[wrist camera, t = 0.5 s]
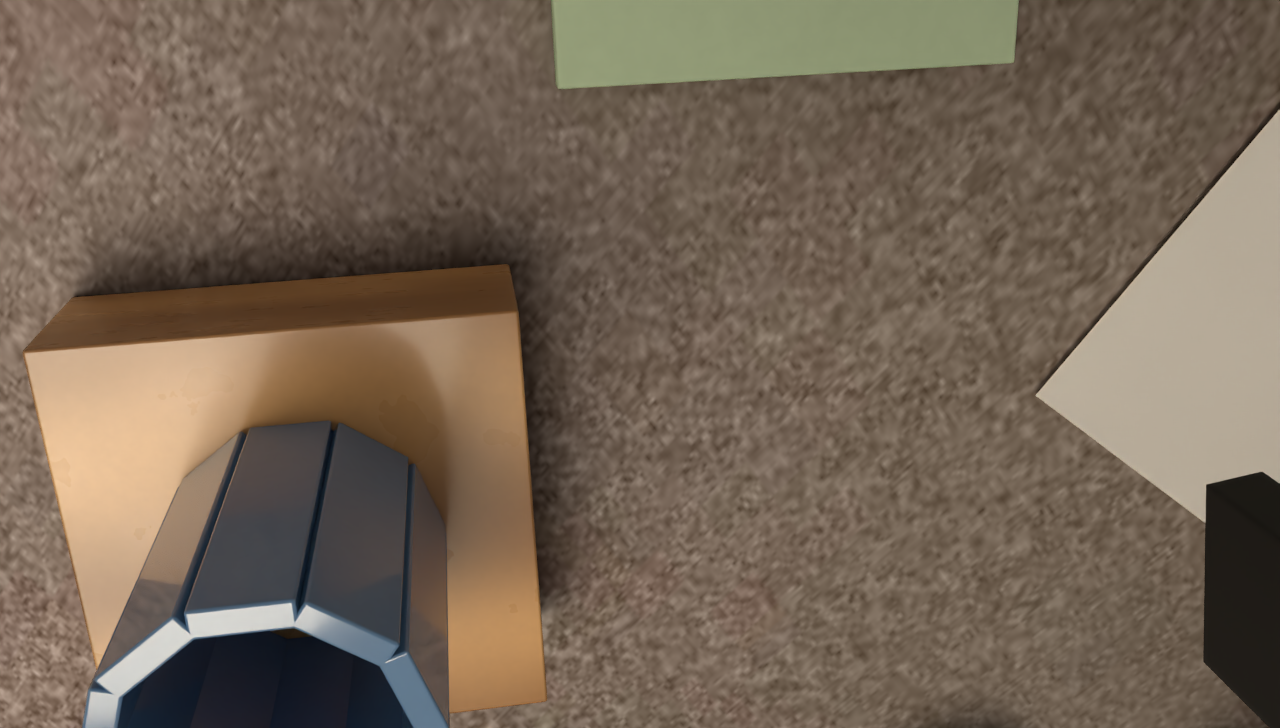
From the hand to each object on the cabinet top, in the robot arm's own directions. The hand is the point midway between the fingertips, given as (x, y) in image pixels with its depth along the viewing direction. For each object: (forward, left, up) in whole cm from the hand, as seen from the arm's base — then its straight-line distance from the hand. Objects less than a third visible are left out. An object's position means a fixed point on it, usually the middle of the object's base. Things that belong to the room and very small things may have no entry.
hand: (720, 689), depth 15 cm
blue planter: (+5, -7, -15) cm, 17 cm away
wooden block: (+5, -7, -19) cm, 20 cm away
